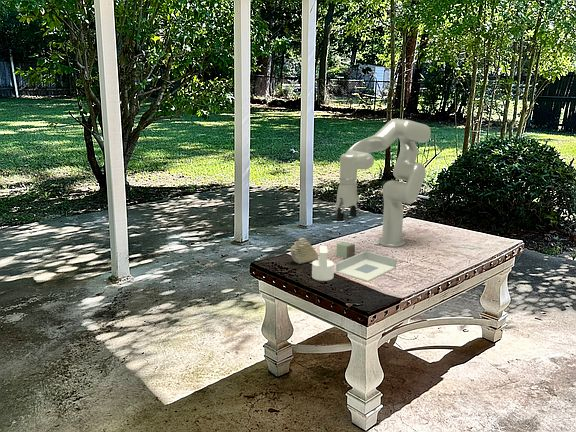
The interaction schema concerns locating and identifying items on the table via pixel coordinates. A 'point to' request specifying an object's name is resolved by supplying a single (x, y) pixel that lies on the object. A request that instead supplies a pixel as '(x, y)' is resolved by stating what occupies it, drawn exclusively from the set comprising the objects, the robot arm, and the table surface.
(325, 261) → the white knob
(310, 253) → the fossil tooth
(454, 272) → the table surface
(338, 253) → the block
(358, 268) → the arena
